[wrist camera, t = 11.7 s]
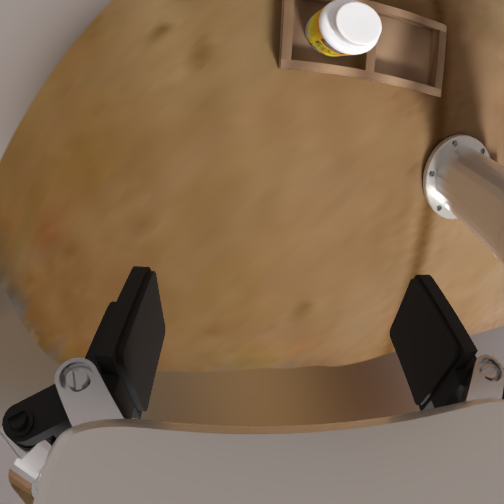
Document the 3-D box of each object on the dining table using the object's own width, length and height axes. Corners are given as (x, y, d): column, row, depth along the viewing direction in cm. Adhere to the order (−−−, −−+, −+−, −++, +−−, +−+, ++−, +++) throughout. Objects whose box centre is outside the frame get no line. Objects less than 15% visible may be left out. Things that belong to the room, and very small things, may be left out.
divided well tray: (434, 26, 26) (446, 25, 24) (428, 94, 31) (440, 97, 29) (282, -8, 26) (285, -14, 23) (278, 68, 31) (280, 67, 28)
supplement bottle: (298, 48, 29) (318, 40, 20) (310, 5, 26) (334, -17, 17) (347, 63, 29) (382, 63, 21) (358, 21, 26) (397, 8, 18)
